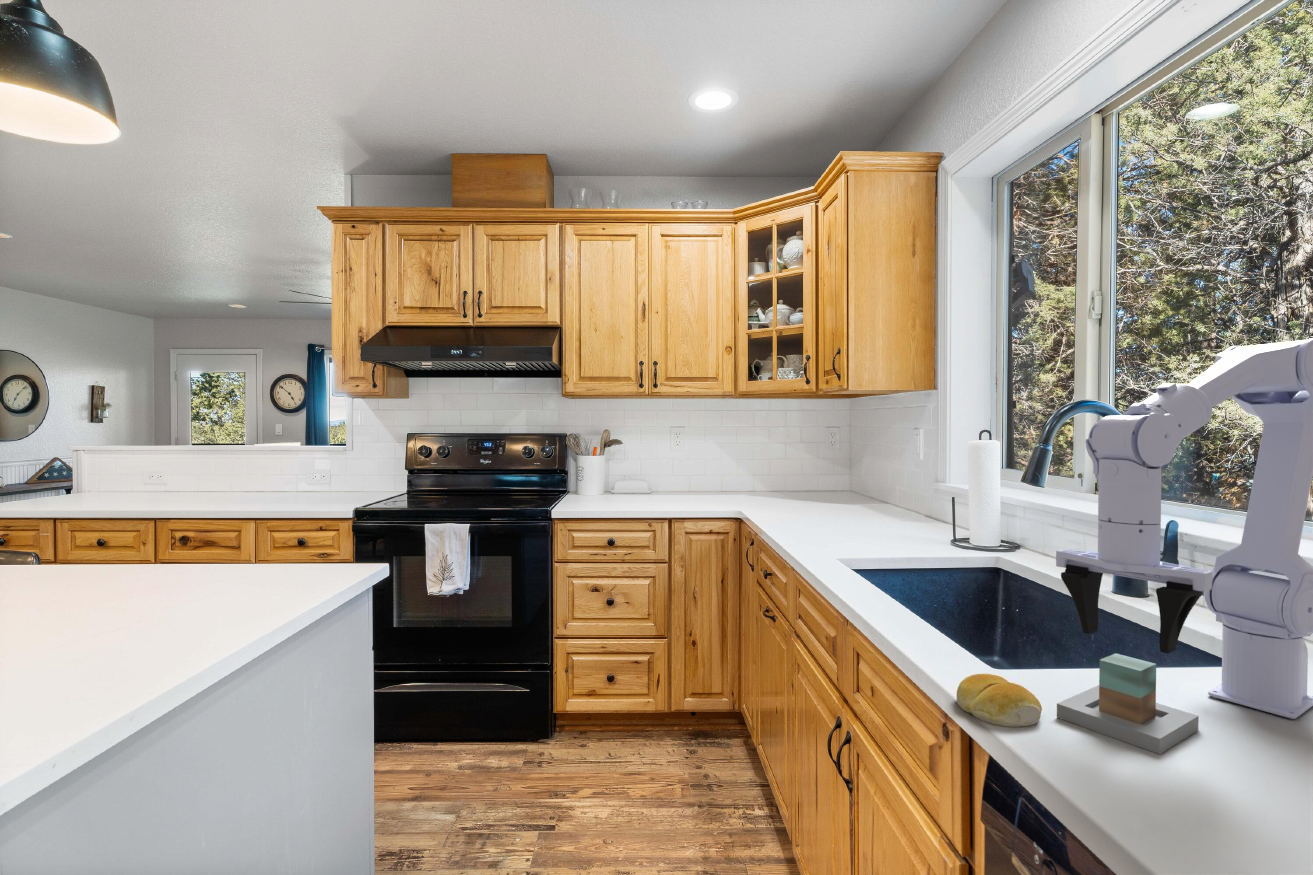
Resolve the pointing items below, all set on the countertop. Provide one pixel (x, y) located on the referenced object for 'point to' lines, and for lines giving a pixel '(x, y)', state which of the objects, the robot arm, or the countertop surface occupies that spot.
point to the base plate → (1129, 722)
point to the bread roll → (998, 701)
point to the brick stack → (1127, 688)
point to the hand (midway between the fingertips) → (1127, 641)
